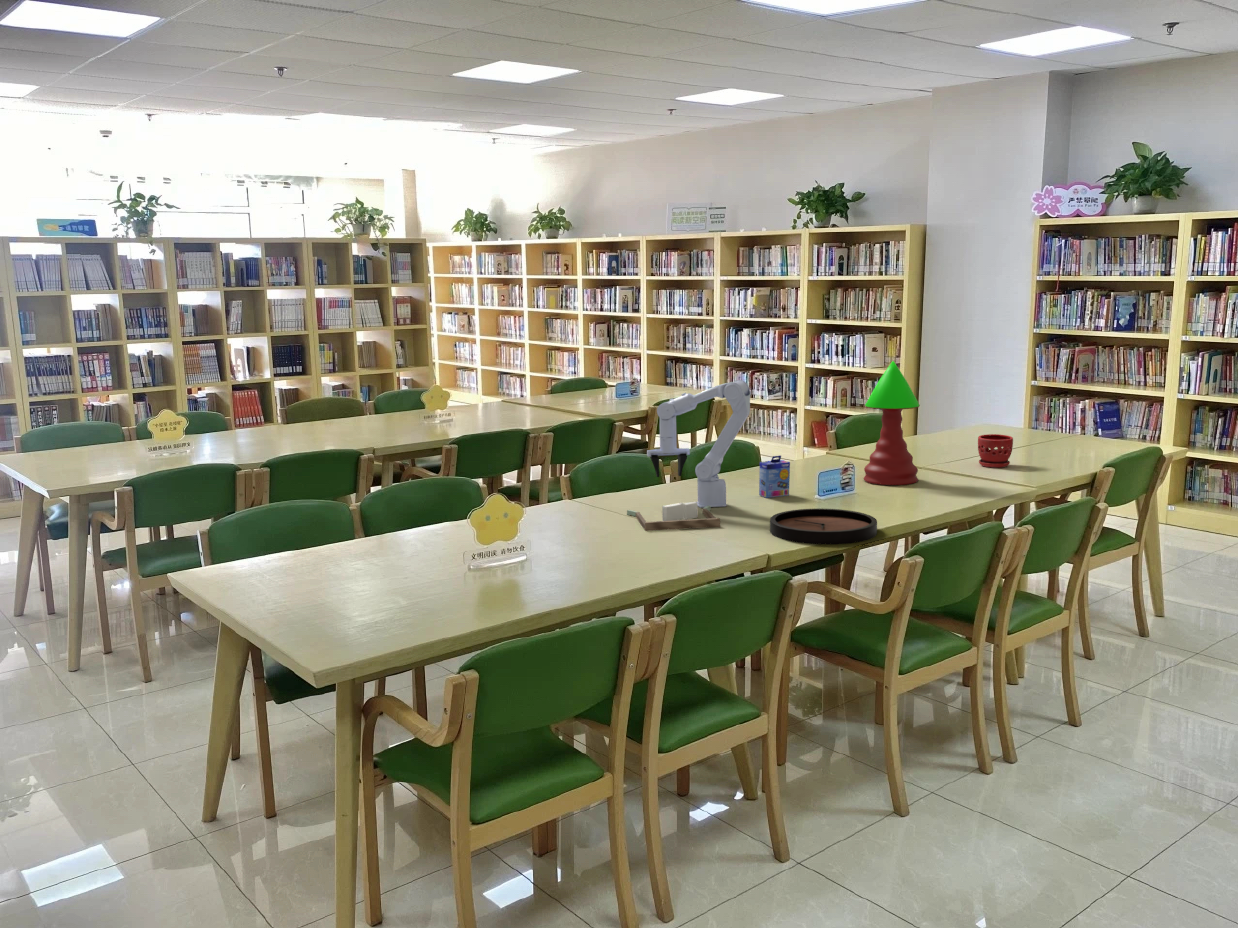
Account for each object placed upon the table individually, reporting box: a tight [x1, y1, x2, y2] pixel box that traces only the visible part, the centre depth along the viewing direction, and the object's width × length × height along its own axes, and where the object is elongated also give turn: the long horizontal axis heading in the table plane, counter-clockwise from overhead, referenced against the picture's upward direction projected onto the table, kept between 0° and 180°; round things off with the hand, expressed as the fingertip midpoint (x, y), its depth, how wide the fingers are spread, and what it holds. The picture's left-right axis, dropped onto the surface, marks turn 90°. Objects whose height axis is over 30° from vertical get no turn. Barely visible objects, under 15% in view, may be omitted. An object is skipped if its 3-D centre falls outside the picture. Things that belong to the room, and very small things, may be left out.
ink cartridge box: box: [758, 455, 791, 499], centre depth 354 cm, size 10×6×14 cm, turn 115°
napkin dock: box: [626, 506, 721, 532], centre depth 321 cm, size 28×24×2 cm
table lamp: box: [863, 360, 920, 486], centre depth 373 cm, size 20×20×45 cm
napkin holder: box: [661, 501, 699, 521], centre depth 322 cm, size 15×11×6 cm
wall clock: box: [769, 508, 878, 546], centre depth 301 cm, size 31×4×31 cm
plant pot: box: [977, 433, 1014, 469], centre depth 400 cm, size 13×13×12 cm
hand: (668, 476), depth 346 cm, fingers open, 7 cm apart
